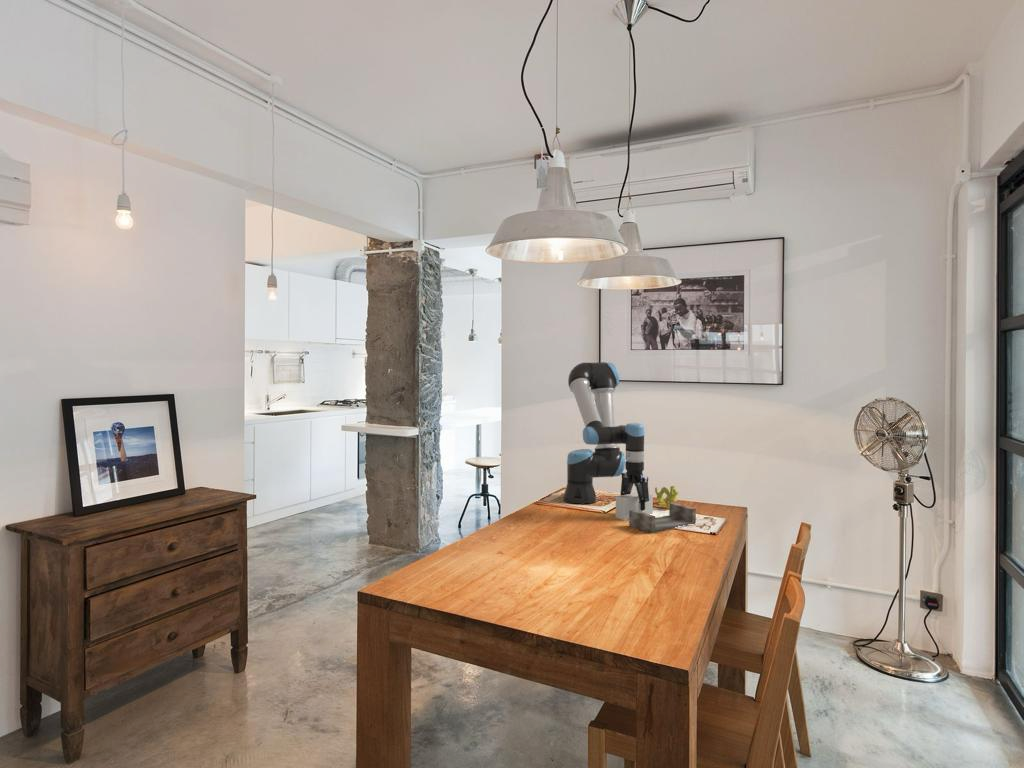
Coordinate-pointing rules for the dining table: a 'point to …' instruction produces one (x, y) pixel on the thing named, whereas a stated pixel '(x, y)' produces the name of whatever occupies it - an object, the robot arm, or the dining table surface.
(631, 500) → the light grey block
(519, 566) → the dining table surface
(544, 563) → the dining table surface
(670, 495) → the green plant sprig
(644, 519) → the cradle rack
